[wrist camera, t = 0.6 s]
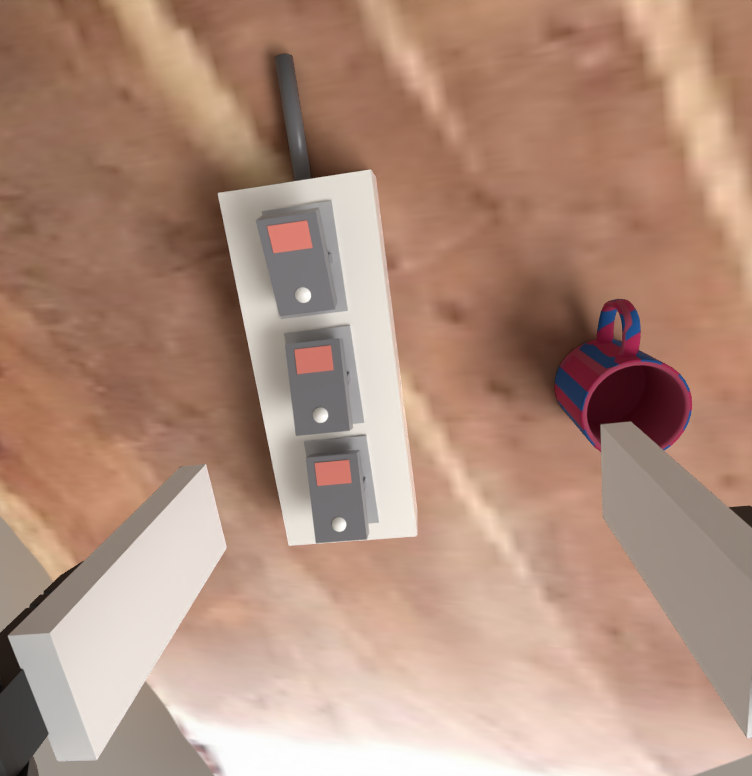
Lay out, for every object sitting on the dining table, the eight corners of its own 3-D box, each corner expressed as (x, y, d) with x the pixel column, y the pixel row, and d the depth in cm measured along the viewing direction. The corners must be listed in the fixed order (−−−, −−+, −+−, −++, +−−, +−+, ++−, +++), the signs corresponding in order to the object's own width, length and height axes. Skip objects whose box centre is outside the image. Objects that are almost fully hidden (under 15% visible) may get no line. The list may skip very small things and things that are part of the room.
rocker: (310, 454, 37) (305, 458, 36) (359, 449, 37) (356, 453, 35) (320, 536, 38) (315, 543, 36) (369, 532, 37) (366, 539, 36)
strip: (212, 73, 35) (177, 46, 30) (359, 46, 34) (349, 13, 29) (298, 519, 44) (282, 555, 39) (417, 509, 43) (417, 545, 38)
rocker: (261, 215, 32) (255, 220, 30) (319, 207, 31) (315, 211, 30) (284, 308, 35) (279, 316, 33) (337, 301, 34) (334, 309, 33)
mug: (550, 423, 40) (576, 459, 34) (561, 293, 38) (591, 305, 31) (640, 424, 40) (683, 461, 33) (657, 292, 37) (708, 304, 31)
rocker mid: (290, 345, 35) (284, 344, 34) (343, 338, 35) (339, 338, 33) (301, 433, 35) (295, 436, 34) (353, 427, 35) (349, 430, 34)
